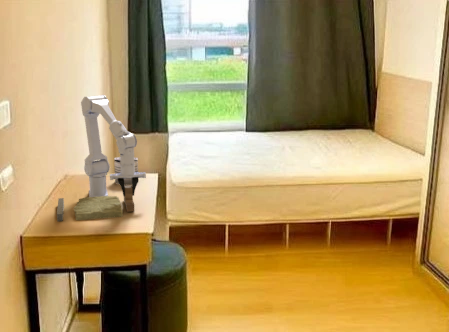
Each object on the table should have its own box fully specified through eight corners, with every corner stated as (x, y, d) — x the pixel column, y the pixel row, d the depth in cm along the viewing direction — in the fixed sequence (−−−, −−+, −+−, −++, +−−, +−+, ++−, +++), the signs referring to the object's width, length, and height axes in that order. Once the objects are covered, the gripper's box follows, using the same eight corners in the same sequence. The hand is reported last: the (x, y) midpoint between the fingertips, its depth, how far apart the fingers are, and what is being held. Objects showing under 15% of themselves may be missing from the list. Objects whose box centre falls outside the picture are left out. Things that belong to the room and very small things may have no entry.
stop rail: (59, 205, 233) (58, 198, 232) (63, 204, 233) (63, 198, 233) (57, 221, 214) (56, 214, 213) (62, 221, 215) (62, 213, 214)
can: (109, 182, 266) (108, 158, 263) (126, 177, 275) (125, 153, 272) (128, 186, 260) (127, 161, 257) (143, 180, 269) (143, 156, 266)
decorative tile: (118, 202, 239) (118, 194, 238) (123, 217, 221) (122, 209, 220) (74, 205, 234) (73, 197, 234) (74, 221, 216) (74, 213, 215)
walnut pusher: (123, 199, 239) (123, 181, 237) (130, 199, 240) (130, 181, 238) (126, 211, 224) (126, 192, 222) (134, 211, 225) (133, 192, 223)
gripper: (109, 166, 222) (111, 199, 226) (146, 165, 226) (147, 196, 229) (108, 162, 229) (110, 194, 232) (144, 160, 232) (145, 191, 236)
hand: (128, 195), depth 231 cm, fingers closed on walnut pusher, 3 cm apart
